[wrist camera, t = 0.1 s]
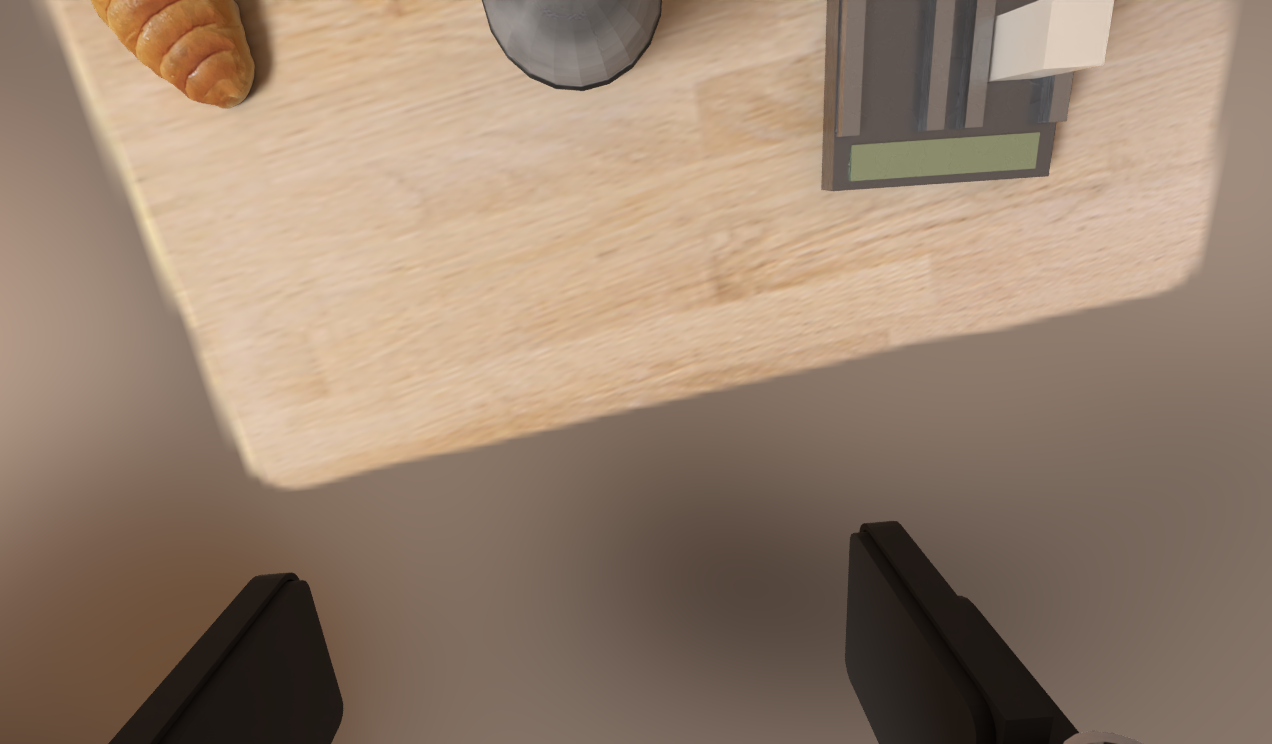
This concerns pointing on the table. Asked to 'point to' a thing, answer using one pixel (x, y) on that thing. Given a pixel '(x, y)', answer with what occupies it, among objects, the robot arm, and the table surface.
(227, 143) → the table surface
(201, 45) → the pastry
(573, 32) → the beverage cup
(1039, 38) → the block
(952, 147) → the gray rail tray
